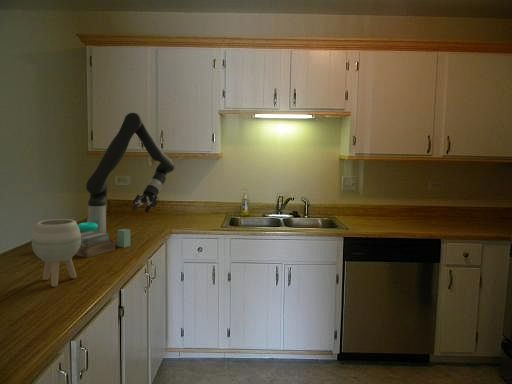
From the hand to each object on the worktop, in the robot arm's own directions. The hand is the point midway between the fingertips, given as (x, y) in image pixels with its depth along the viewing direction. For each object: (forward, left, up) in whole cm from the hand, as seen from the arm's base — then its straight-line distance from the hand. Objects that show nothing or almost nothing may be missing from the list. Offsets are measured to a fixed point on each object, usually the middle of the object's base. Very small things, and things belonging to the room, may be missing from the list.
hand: (139, 211), depth 208 cm
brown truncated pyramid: (-7, -28, -16) cm, 33 cm away
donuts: (-22, -15, -17) cm, 31 cm away
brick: (0, -12, -16) cm, 20 cm away
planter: (+18, -65, -17) cm, 69 cm away
